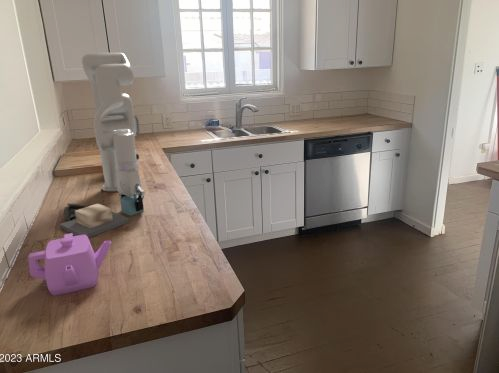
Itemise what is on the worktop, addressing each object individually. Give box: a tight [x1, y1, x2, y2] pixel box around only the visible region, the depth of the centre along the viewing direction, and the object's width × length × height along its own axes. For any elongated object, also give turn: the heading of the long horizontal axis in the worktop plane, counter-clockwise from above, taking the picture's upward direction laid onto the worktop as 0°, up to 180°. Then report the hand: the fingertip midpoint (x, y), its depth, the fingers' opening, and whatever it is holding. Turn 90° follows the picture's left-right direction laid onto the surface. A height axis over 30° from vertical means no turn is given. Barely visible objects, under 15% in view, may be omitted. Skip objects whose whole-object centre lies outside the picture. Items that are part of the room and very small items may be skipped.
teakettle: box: [27, 232, 112, 297], centre depth 106 cm, size 17×17×12 cm
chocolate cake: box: [63, 202, 88, 221], centre depth 150 cm, size 10×7×12 cm
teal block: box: [119, 195, 145, 216], centre depth 154 cm, size 6×6×6 cm
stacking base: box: [59, 203, 130, 239], centre depth 142 cm, size 18×16×6 cm
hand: (132, 207), depth 154 cm, fingers open, 9 cm apart
